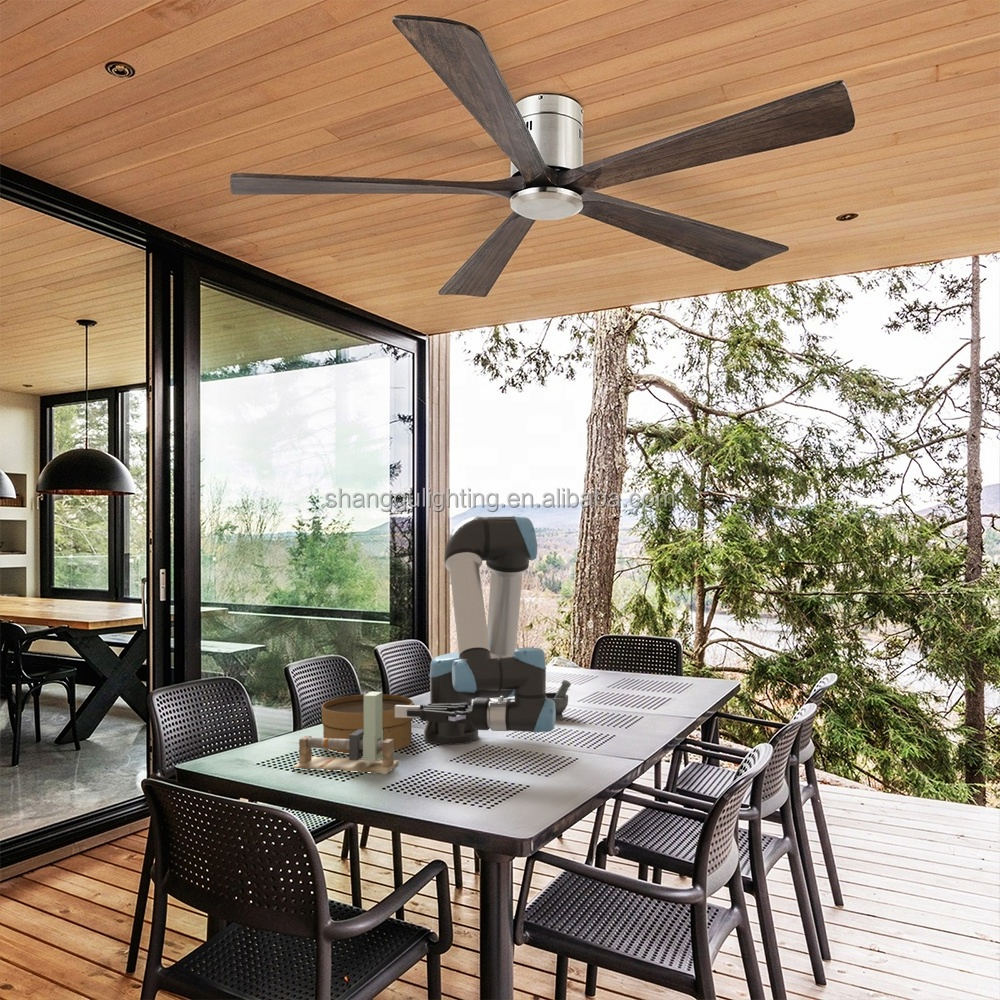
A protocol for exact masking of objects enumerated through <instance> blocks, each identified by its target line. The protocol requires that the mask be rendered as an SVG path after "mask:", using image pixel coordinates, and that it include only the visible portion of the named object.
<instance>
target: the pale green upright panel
mask: <svg viewBox="0 0 1000 1000" xmlns="http://www.w3.org/2000/svg"><path fill="white" fill-rule="evenodd" d="M382 694H383V691H369V692H368V693H365V694H363V695H364V735H363V756H362V759H363V761H376V760H377V759H378V760H379V758H381V757H382V751H377V740H383V730H382Z"/></svg>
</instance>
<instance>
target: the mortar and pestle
mask: <svg viewBox="0 0 1000 1000" xmlns="http://www.w3.org/2000/svg"><path fill="white" fill-rule="evenodd" d="M571 685H572V684H571V682H570V681H568V680H566V679H563V680H562V682H561V685H560V687H559V689H558V690H557V692H546V697H547V699H551V700H553V701H554V702H555V709H556V720H555V721H559V720H560V721H561V720H562V719H564V718H563V717H564V716H563V712H565V710H566V708H567V706H568V704H569V695H568V694H567V692H568V690H569V688H570V687H571Z"/></svg>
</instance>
